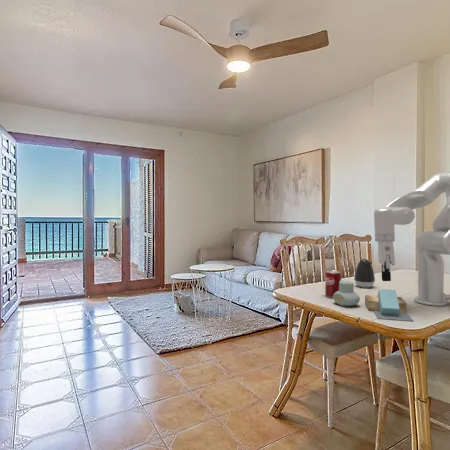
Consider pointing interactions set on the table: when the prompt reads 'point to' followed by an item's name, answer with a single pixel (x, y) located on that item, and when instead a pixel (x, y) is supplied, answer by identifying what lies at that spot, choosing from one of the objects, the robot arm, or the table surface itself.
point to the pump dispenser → (364, 274)
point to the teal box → (388, 302)
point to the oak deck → (373, 305)
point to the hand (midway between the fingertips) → (386, 280)
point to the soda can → (332, 282)
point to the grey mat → (394, 316)
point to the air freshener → (346, 294)
